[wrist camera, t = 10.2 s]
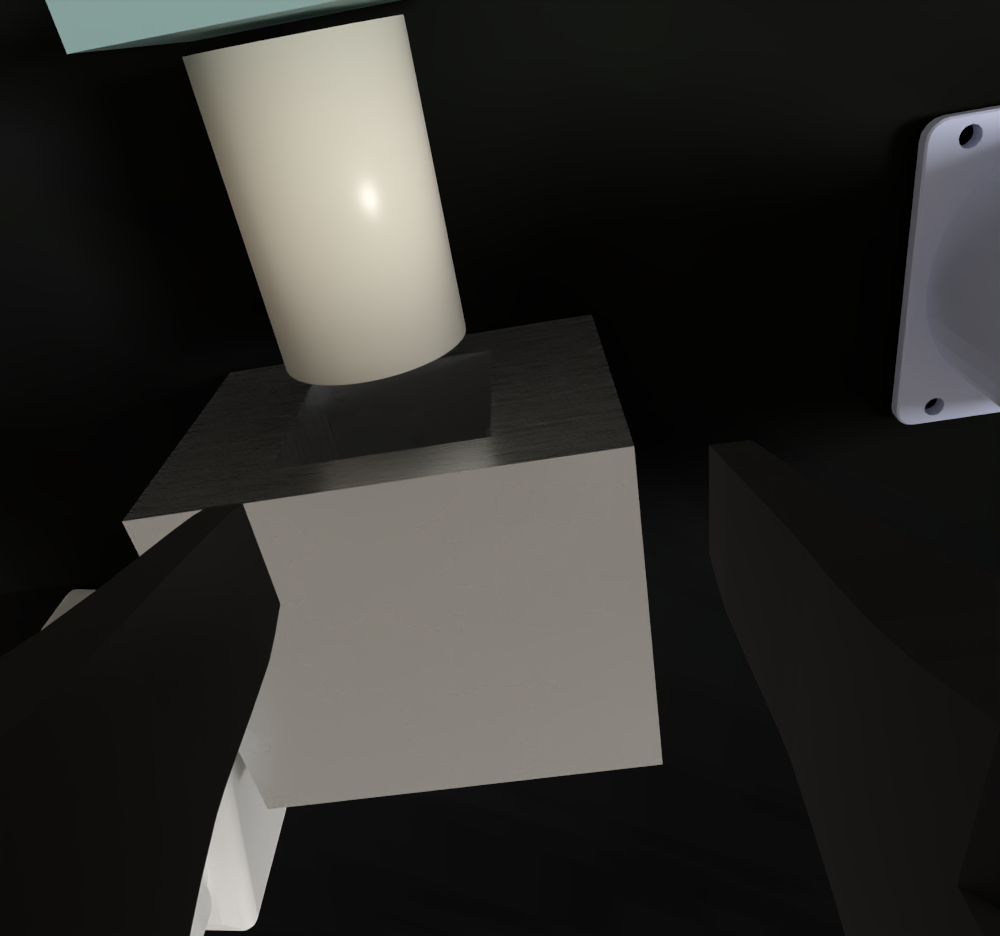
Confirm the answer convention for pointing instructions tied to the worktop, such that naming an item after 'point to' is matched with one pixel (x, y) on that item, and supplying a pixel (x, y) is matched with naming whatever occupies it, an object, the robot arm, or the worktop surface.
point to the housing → (435, 567)
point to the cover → (314, 173)
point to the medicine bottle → (228, 843)
